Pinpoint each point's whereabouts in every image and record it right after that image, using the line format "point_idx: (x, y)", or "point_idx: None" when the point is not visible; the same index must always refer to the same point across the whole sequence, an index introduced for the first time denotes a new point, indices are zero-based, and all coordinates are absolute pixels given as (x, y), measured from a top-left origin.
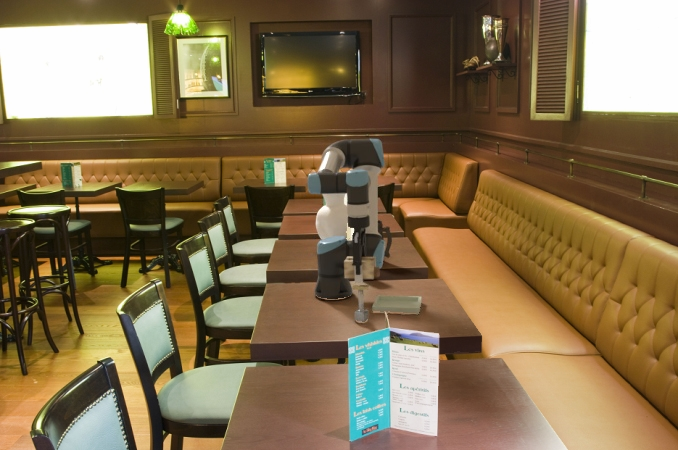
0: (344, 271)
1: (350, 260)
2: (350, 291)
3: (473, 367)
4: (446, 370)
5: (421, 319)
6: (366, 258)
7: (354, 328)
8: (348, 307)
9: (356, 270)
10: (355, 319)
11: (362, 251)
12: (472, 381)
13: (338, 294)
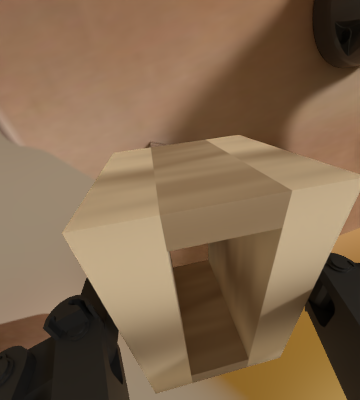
0: (102, 170)
1: (152, 285)
2: (352, 63)
3: (48, 334)
4: (17, 322)
5: (195, 249)
6: (252, 337)
7: (112, 153)
8: (254, 87)
9: (87, 284)
10: (150, 145)
11: (351, 382)
12: (6, 344)
13: (331, 24)
